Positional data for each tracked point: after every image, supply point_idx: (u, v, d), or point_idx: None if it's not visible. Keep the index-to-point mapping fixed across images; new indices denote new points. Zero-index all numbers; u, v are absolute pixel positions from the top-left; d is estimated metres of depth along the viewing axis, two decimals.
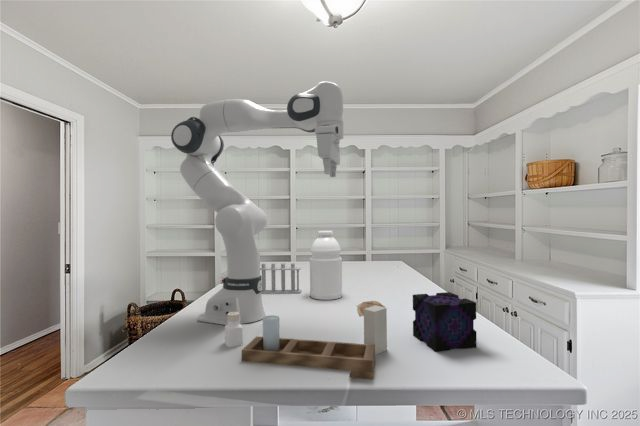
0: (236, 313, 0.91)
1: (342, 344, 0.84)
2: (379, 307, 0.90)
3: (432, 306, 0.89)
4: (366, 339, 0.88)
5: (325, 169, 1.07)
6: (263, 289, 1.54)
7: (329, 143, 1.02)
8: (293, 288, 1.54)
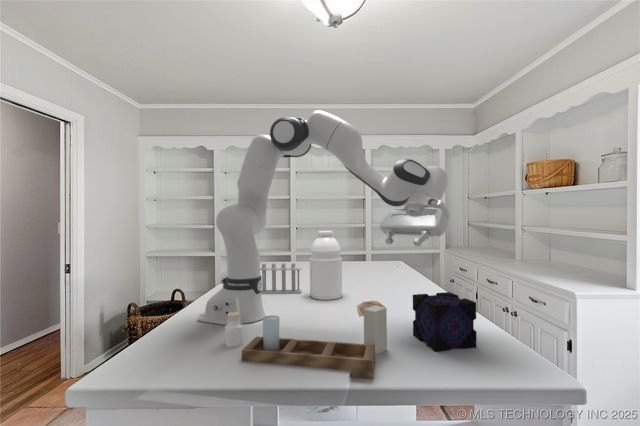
0: (236, 313, 0.91)
1: (342, 344, 0.84)
2: (379, 307, 0.90)
3: (432, 306, 0.89)
4: (366, 339, 0.88)
5: (420, 240, 0.94)
6: (263, 289, 1.54)
7: (446, 226, 0.95)
8: (293, 288, 1.54)
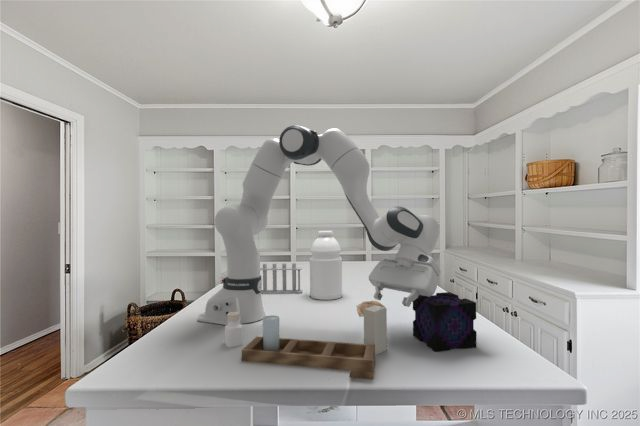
0: (236, 313, 0.91)
1: (342, 344, 0.84)
2: (379, 307, 0.90)
3: (432, 306, 0.89)
4: (366, 339, 0.88)
5: (409, 300, 0.90)
6: (264, 289, 1.54)
7: (436, 285, 0.91)
8: (294, 288, 1.54)
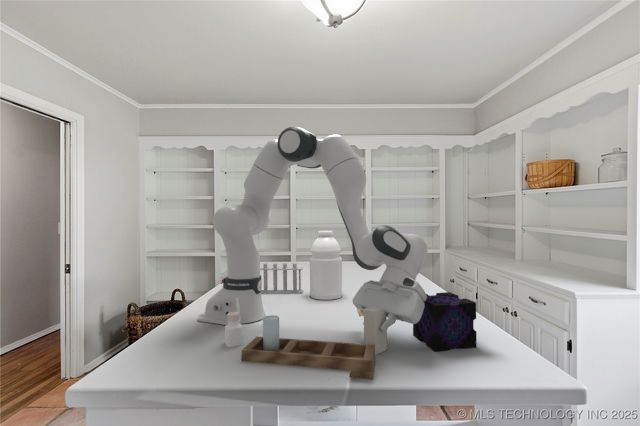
0: (236, 313, 0.91)
1: (342, 344, 0.84)
2: (379, 307, 0.90)
3: (432, 306, 0.89)
4: (366, 339, 0.88)
5: (385, 325, 0.87)
6: (265, 289, 1.54)
7: (422, 312, 0.86)
8: (295, 288, 1.54)
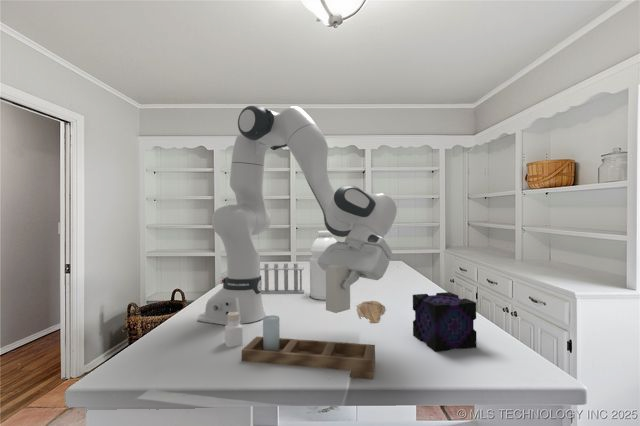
0: (236, 313, 0.91)
1: (342, 344, 0.84)
2: None
3: (432, 306, 0.89)
4: (327, 297, 0.84)
5: (347, 282, 0.83)
6: (266, 289, 1.54)
7: (386, 268, 0.82)
8: (296, 288, 1.54)
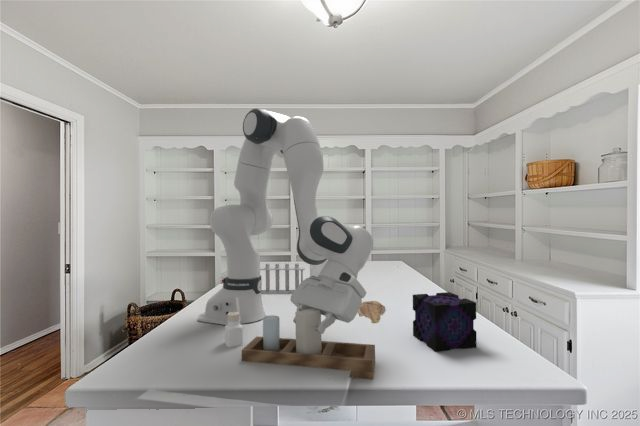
0: (236, 313, 0.91)
1: (342, 344, 0.84)
2: (313, 310, 0.83)
3: (432, 306, 0.89)
4: (297, 345, 0.81)
5: (322, 326, 0.78)
6: (267, 289, 1.54)
7: (358, 309, 0.79)
8: None
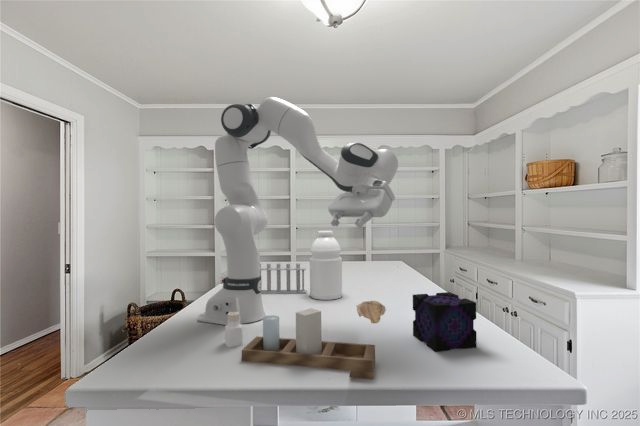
0: (236, 313, 0.91)
1: (342, 344, 0.84)
2: (313, 310, 0.83)
3: (432, 306, 0.89)
4: (297, 345, 0.81)
5: (361, 220, 0.93)
6: (268, 289, 1.54)
7: (389, 207, 0.94)
8: (298, 288, 1.54)
